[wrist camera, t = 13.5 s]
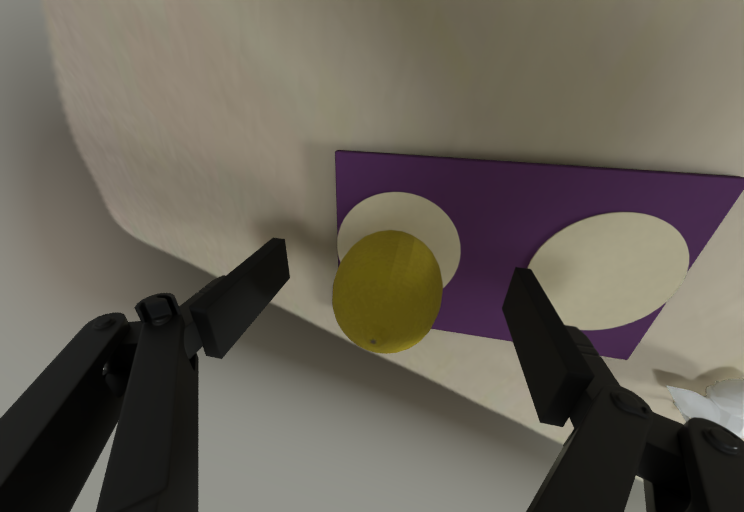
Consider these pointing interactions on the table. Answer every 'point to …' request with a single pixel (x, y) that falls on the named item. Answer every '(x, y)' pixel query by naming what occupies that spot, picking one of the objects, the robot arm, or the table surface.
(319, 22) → the table surface
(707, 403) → the white bird figurine
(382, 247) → the lemon
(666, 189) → the placemat
